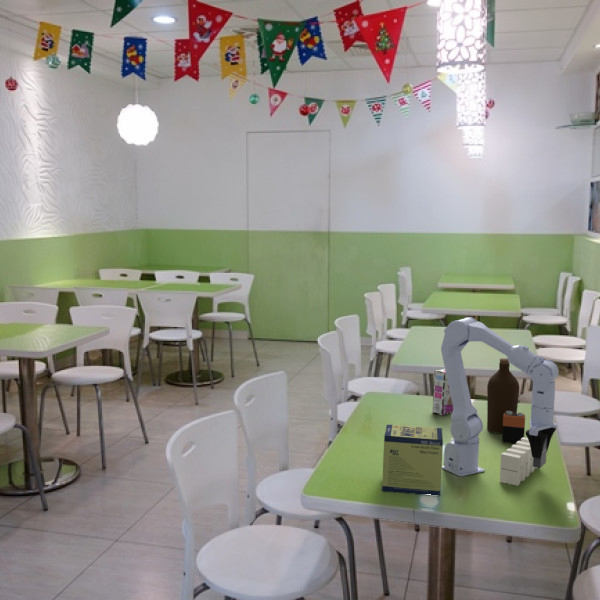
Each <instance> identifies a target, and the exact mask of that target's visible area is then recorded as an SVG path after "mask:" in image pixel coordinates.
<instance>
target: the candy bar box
mask: <svg viewBox="0 0 600 600" xmlns="http://www.w3.org/2000/svg"><path fill="white" fill-rule="evenodd" d="M433 377H434V379H433V395H432V412H434V413H433V414H435V413H438V414H441V415H440V416H445V415H444V414H446V415H448V414H447V413H449V414H451V413H450V412H453V404H452V399H451V394H450V390H449V385H448V380H447V376H446V371H445V368H441V369H437V370H434V376H433ZM438 414H437V415H438Z"/></svg>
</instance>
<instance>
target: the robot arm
mask: <svg viewBox="0 0 600 600" xmlns="http://www.w3.org/2000/svg"><path fill="white" fill-rule="evenodd" d="M443 332H444V336H443V340H442V343H441V347H440V352H441V355H442V361H443V366H444V369H445V371H446V376H447V380H448V385H449V390H450V394H451V399H452V404H453V412H452V413H451V415H450V420H451V421H450V422H451V425H450V434H451V437H452V438H453V439H452V440H451V441H450V442H448V443H447V444H445V446H444V455H443V456H444V457H443V465H442V470H445V471H448V472H450V473H452V474H454V475H456V476H457V477H465V476H469V475H473V474H479V473H483V472H485V468H482V467H480V466H479V453H480V452H479V451H480V449H479V447H480V437H479V435H480V433H482V432H483V429H484V428H483V427H484V424H483V420H482V419H481V417H480V416H479V414H478V409H476V407H474V405H473V404H472V398H471V394H470V390H469V385H468V380H467V374H466V370H465V366H464V362H463V357H462V351H463V350H464V348H465V347H466V346H467V345H468V343H470V342H482V343H483V344H485V345H487V346H488V347H491V348H493V349H494V350H496V351H498V352H499V353H501V354H503V355H504V356H506V359H508V361H509V363H510V364H511V365H512V366H514V367H515V368H517V369H518V370H520V371H522V372H523V373H525V374H526V375H528V376H529V377H530V379H531V381H532V393H531V394H532V395H531V407H530V419H529V425H530V426H529V429H527V430H526V431H525V436H526V438H528V440H529V443H530V447H531V453H532V457H534V458H539V459H540V458H541V456H542V452H543V447H544V443H545V441H546V439H547V452H546V454H547V453H548V450H549V448H550V443H551V441H552V438H553V435H554V433H555V432H556V430H557V428H558V423H556V422H554V414H555V413H554V412H555V411H554V410H555V398H556V389H555V388H556V379H557V378H558V376H559V373H560V372H559V371H560V370H559V367H558V365H557V364H556V363H555V362H554V361H552V360H551V359H545V357H544V356H541V355H540V356H539V355H537V354H536V353H534V352H532V350H530V347H528V346H527V345H521V344H517V345H514V344H513V343H512V344H511V343H510V342H509V341H508V340H506V339H505V338H504V337H502V336H500V335H499V334H498V333H496V332H495V331H493V330H492V329H490V328H489V327H488V326H487V325H485V324H484V323H483V322H481V321H478V320H476V318H473V317H471V316H468V317H464V318H462V319H458V320H452V321H450V323H449V324H448V325H447V326H446V327H445V328H444V330H443ZM546 434H547V435H546Z"/></svg>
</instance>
